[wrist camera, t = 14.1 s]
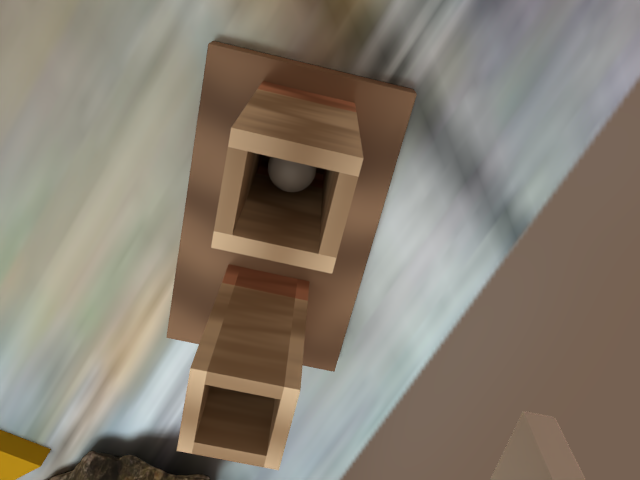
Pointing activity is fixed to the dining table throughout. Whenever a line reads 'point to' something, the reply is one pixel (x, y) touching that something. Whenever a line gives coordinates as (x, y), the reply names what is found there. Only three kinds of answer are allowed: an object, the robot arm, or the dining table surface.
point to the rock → (119, 469)
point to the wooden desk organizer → (269, 264)
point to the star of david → (19, 456)
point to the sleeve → (280, 206)
